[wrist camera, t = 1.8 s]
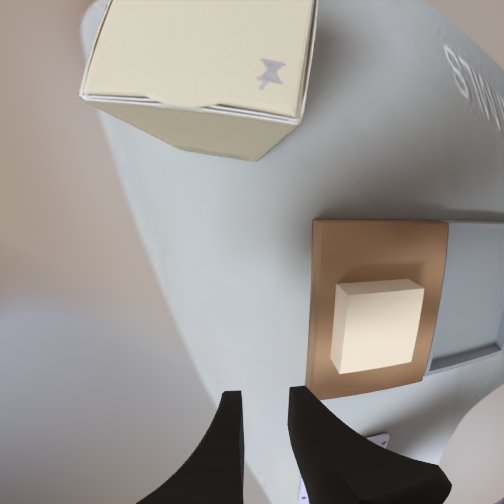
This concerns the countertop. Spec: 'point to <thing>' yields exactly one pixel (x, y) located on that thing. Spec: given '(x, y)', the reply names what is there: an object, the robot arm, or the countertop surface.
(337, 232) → the plate
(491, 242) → the tray
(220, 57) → the box
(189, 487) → the robot arm
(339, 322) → the tile
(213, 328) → the countertop surface
